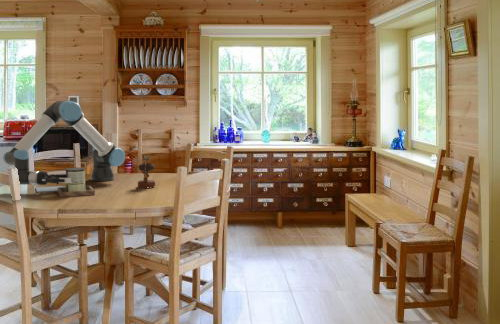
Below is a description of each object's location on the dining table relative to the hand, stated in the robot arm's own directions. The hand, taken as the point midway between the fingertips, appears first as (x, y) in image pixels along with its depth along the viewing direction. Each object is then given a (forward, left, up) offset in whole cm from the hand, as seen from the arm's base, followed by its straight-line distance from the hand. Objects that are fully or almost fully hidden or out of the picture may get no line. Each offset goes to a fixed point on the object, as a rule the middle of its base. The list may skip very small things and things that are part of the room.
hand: (75, 178), depth 287 cm
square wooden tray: (0, 0, -8) cm, 8 cm away
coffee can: (0, 0, -9) cm, 9 cm away
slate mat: (+12, -18, -8) cm, 24 cm away
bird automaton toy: (-42, -8, -9) cm, 44 cm away
